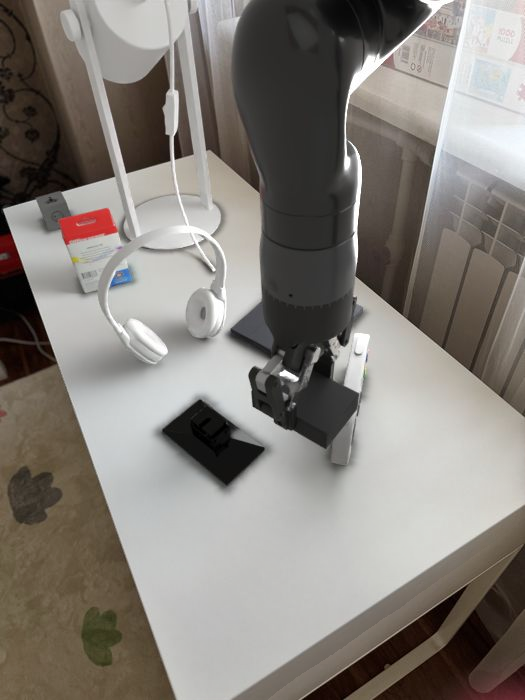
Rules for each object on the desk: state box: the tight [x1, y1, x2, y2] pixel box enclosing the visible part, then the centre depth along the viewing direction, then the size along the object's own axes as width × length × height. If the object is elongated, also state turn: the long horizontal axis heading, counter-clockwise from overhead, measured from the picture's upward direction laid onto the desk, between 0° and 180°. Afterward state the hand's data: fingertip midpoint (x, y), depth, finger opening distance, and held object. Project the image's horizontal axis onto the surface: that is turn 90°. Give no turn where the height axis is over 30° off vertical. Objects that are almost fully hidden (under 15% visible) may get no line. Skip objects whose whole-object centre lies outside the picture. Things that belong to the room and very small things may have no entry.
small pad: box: [250, 367, 359, 450], centre depth 54 cm, size 6×9×3 cm, turn 53°
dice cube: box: [35, 190, 72, 232], centre depth 107 cm, size 5×5×5 cm
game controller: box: [330, 332, 371, 466], centre depth 68 cm, size 20×2×8 cm, turn 165°
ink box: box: [58, 207, 133, 294], centre depth 89 cm, size 8×5×15 cm, turn 111°
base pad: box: [230, 301, 364, 356], centre depth 84 cm, size 14×16×1 cm
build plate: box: [161, 399, 266, 487], centre depth 68 cm, size 12×7×5 cm, turn 47°
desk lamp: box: [59, 0, 222, 272], centre depth 88 cm, size 21×32×45 cm, turn 35°
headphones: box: [97, 225, 227, 365], centre depth 75 cm, size 7×18×20 cm, turn 123°
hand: (304, 402), depth 54 cm, fingers closed on small pad, 6 cm apart
